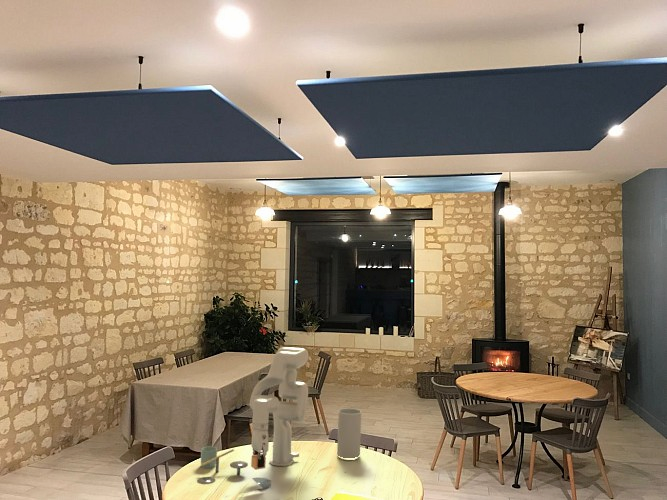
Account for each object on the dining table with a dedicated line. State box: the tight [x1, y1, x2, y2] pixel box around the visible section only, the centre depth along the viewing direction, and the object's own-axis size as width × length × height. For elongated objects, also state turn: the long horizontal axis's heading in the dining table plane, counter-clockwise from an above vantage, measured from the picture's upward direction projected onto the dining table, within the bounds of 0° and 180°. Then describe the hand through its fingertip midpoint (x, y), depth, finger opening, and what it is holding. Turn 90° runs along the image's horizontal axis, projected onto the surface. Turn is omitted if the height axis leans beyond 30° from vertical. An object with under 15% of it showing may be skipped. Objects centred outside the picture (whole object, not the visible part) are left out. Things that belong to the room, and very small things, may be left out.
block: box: [250, 454, 267, 470], centre depth 248 cm, size 5×5×5 cm
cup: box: [200, 445, 218, 469], centre depth 266 cm, size 8×8×10 cm
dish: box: [251, 476, 272, 491], centre depth 248 cm, size 12×12×1 cm
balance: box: [196, 448, 249, 485], centre depth 254 cm, size 24×14×11 cm, turn 122°
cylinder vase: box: [336, 407, 362, 458], centre depth 291 cm, size 12×12×25 cm
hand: (258, 464), depth 248 cm, fingers closed on block, 5 cm apart
